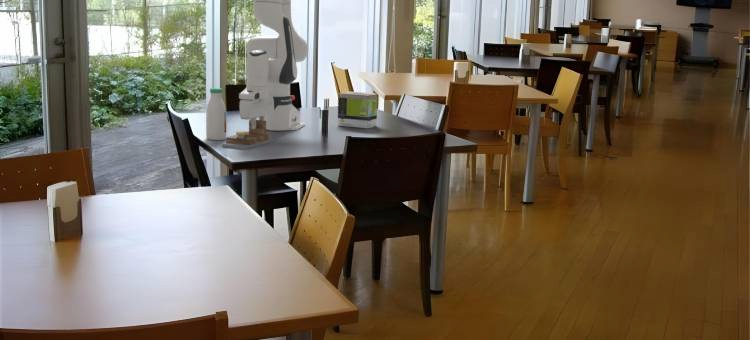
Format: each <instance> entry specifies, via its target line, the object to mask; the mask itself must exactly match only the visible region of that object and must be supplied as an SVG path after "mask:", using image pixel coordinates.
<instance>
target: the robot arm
mask: <svg viewBox="0 0 750 340" xmlns="http://www.w3.org/2000/svg"><path fill="white" fill-rule="evenodd" d="M252 7H253V16H254V17H255V19H256V21H257V22H258V23H260V24H261V25H262V26H264V27H265V28H266V27H267V28H269V29H271V30H273V31H275V32H276V33H277V34H278V35H258V36H253V37H250V38H249V40H248V41H247V43H246V47H245V52H246V56H247V58H246V66H245V67H246V68H245V69H246V70H245V74H246V84H245V85H246V87H245V88H244V89H243V90H242V91H241V92H239V94H238V98H239V99H240V100H239V118H240V119H241V120H247V121H249V120H250V122H251V124H252V129H257V124H256V120H257V118H258V120H263V121H266V131H297V130H299V129H301V128H303V127H305V126H306V123H305V122H303V121H301V114H300V111H299V110H298V109H297V108H296V107H295V106H294V105H293V101H295V98H296V97H295V95H293V94H292V95H291V84H292V83H294V81H296V79H297V78H298V67H297V63H301V62H303V61H305V60H306V58H307V56H308V54H309V47H308V43H307V42H306V40H305V39H304V38H303V37H302V36H300V35H299V33H298V32H297V30H295V27H294V24H293V21H292V0H253V5H252Z"/></svg>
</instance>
